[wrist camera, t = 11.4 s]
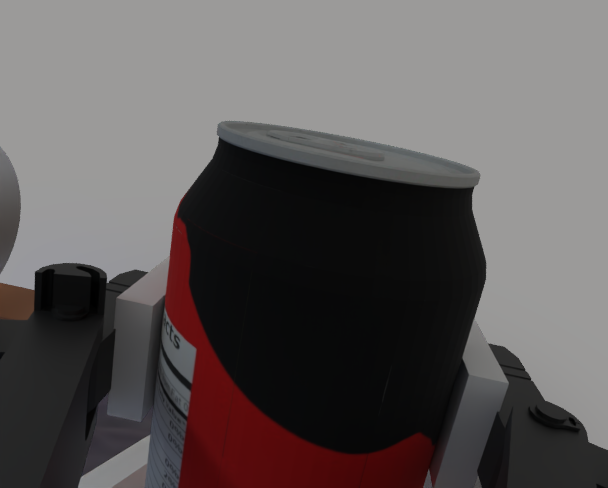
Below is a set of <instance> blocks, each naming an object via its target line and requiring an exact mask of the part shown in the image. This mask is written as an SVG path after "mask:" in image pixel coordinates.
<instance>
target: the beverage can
mask: <svg viewBox="0 0 608 488" xmlns="http://www.w3.org/2000/svg"><path fill="white" fill-rule="evenodd" d="M217 135H218V136H219V142H218V147H217V149H216V151H215V154H214V156H213V159H212V160H211V161H210V163H209V164H208V165H207V167H206V168H205V169H204V171H203V172H202V173H201V174H200V176H199V177H198V178H197V180H196V181H195V182H194V184H193V185H192V186H191V187H190V189H189V190H188V191H187V193H186V194H185V195H184V197H183V198H182V199H181V201H180V204H179V206H178V208H177V211H176V213H175V216H174V223H173V232H172V242H171V250H170V260H169V269H168V278H167V287H166V296H165V305H164V314H163V324H162V333H161V342H160V351H159V360H158V369H157V379H156V388H155V397H154V406H153V415H152V424H151V433H150V443H149V452H148V461H147V470H146V479H145V488H423V486H424V482H425V479H426V476H427V472H428V469H429V466H430V463H431V459H432V456H433V453H434V449H435V446H436V443H437V439H438V436H439V433H440V430H441V426H442V423H443V420H444V416H445V413H446V410H447V406H448V403H449V400H450V397H451V393H452V390H453V387H454V383H455V380H456V377H457V373H458V370H459V367H460V364H461V360H462V357H463V354H464V350H465V347H466V344H467V340H468V337H469V334H470V331H471V327H472V324H473V321H474V317H475V314H476V310H477V307H478V304H479V301H480V298H481V294H482V291H483V288H484V284H485V280H486V260H485V256H484V252H483V248H482V245H481V241H480V237H479V234H478V230H477V226H476V223H475V219H474V216H473V211H472V193H473V189H474V186H476V185H477V184H478V182H479V179H480V173H479V172H478V171H477V170H475V169H473V168H470V167H468V166H465V165H462V164H460V163H456V162H453V161H450V160H446V159H443V158H439V157H435V156H431V155H427V154H424V153H420V152H415V151H411V150H407V149H403V148H398V147H394V146H389V145H384V144H380V143H375V142H370V141H365V140H360V139H355V138H350V137H345V136H339V135H333V134H328V133H323V132H317V131H311V130H305V129H298V128H292V127H285V126H278V125H270V124H262V123H252V122H240V121H225V122H221V123H219V124H218V128H217Z"/></svg>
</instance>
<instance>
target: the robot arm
mask: <svg viewBox="0 0 608 488" xmlns="http://www.w3.org/2000/svg"><path fill="white" fill-rule="evenodd" d="M169 260H170V256H169V257H168V258H167V259H165V260H164V261H163V262H162V263H160V264H159V265H158V266H156V267H155V268H154V269H152V270H151V271H150V272H144V271H139V270H133V271H129V272H125V273H123V274H119V275H118V276H116V277H115V278H113V279H112V280H110V281H109V283H107V275H106V273H105V272H104V271H103V270H101V269H99V268H96V267H94V266H91V265H85V264H77V263H63V264H53V265H49V266H46V267H42V268H40V269H39V270H37V271H36V272H35V294H34V311H33V313H32V314H31V315H30V317H29V318H28V320H10V319H0V488H78V485H79V482H80V478H81V475H82V471H83V468H84V464H85V461H86V457H87V454H88V450H89V447H90V443H91V439H92V436H93V432H94V429H95V425H96V419H97V405H98V403H99V402H100V401H101V400H102V399H103V398H104V397H105V395H106V394H107V393H108V392H109V394H108V407H107V415H111V416H115V417H120V418H124V419H128V420H133V421H137V422H142V420H143V419H144V417H145V416H146V414H147V413H148V411H149V410H150V409H151V407H152V406H153V404H154V397H155V388H156V379H157V369H158V360H159V351H160V342H161V333H162V324H163V314H164V305H165V296H166V287H167V278H168V269H169ZM429 470H430V476H431V481H432V486H433V488H474V485H475V482H476V479H477V476H479V479H480V482H481V485H482V488H608V450H606V449H603V448H601V447H598V446H596V445H594V444H591V443H589V442H588V437H587V432H586V430H585V428H584V426H583V424H582V423H581V422H580V421H579V420H578V419H577V418H576V417H575V416H573V415H572V414H571V413H569V412H567V411H566V410H564V409H563V408H561V407H559V406H557V405H554V404H552V403H550V402H547V401H545V400H544V398H543V397H542V395H541V394H540V392H539V390H538V389H537V387H536V386H535V384H534V382H533V381H531V378H530V376H529V374H528V373H527V372H526V371H525V368H524V366H523V365H522V363H521V362H520V360H519V358H517V357H516V356H515V355H514V354H512V353H511V352H510V351H509V350H508V349H506V348H505V347H502V346H497V345H493V344H488V343H487V341H486V339H485V338H484V336H483V334H482V332H481V330H480V328H479V326H478V324H477V322H476V321H475V319H474V321H473V324H472V327H471V331H470V334H469V337H468V340H467V344H466V347H465V350H464V354H463V357H462V360H461V364H460V367H459V370H458V373H457V377H456V380H455V383H454V387H453V390H452V393H451V397H450V400H449V403H448V406H447V410H446V413H445V416H444V420H443V423H442V426H441V430H440V433H439V436H438V439H437V443H436V446H435V449H434V453H433V456H432V459H431V463H430V466H429Z"/></svg>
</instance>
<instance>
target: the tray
mask: <svg viewBox="0 0 608 488" xmlns="http://www.w3.org/2000/svg"><path fill="white" fill-rule="evenodd" d="M149 443H150V435H148V436H147V437H145V438H143V439H142V440H140V441H139V442H137V443H135V444H134V445H132V446H131V447H129V448H127V449H126V450H124V451H122V452H121V453H119V454H118V455H116V456H114V457H113V458H111V459H109V460H108V461H106V462H105V463H103V464H101V465H100V466H98V467H97V468H95V469H93V470H92V471H90V472H88V473H87V474H85V475H84V476H82V477H81V478H80V482H79V485H78V488H145V479H146V470H147V461H148V452H149Z"/></svg>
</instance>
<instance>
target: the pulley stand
mask: <svg viewBox="0 0 608 488" xmlns="http://www.w3.org/2000/svg"><path fill="white" fill-rule="evenodd" d="M20 209H21V203H20V190H19V185H18V180H17V176H16V173H15V170H14V168H13V166H12V163H11V161H10V160H9V158H8V156H7V155H6V153H5V152H4V151H3V150H2V149H1V147H0V273H1V272H2V270H3V268H4V267H5V265H6V263H7V261H8V259H9V256H10V254H11V251H12V249H13V246H14V243H15V240H16V236H17V232H18V227H19V221H20ZM34 294H35V290H31V289H26V288H22V287H17V286H12V285H8V284H3V283H0V319H10V320H28V318H29V317H30V315H31V314H32V313H33V311H34Z"/></svg>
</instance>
